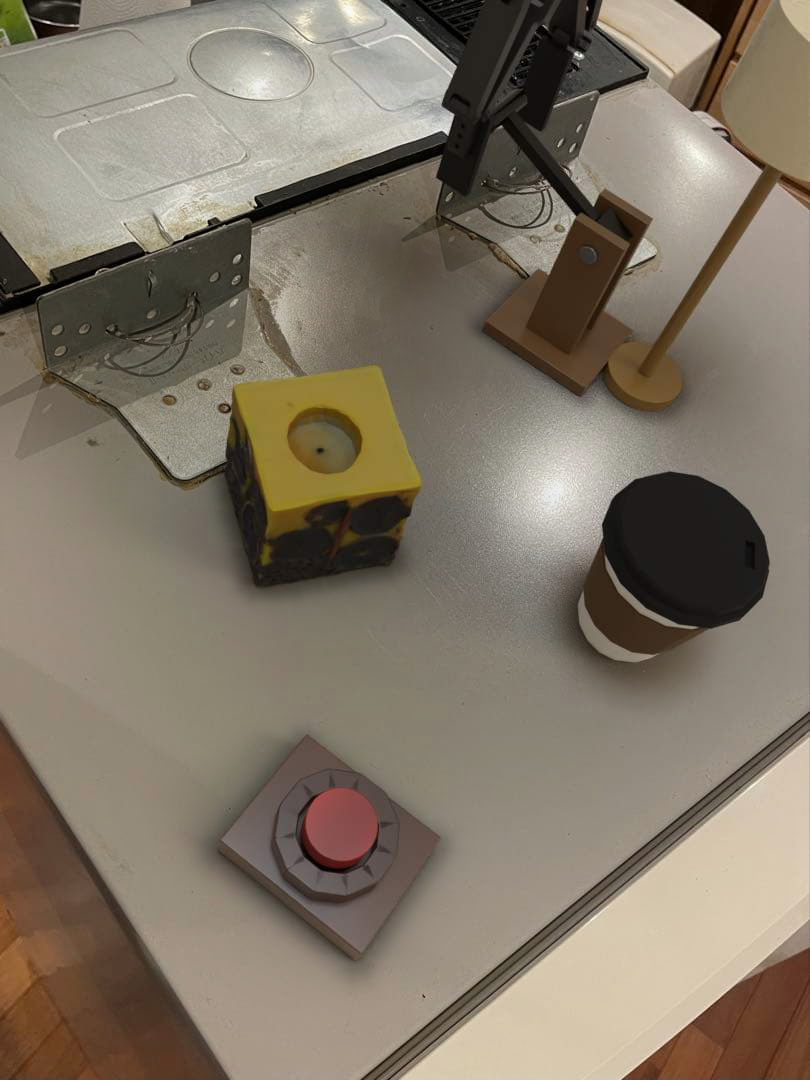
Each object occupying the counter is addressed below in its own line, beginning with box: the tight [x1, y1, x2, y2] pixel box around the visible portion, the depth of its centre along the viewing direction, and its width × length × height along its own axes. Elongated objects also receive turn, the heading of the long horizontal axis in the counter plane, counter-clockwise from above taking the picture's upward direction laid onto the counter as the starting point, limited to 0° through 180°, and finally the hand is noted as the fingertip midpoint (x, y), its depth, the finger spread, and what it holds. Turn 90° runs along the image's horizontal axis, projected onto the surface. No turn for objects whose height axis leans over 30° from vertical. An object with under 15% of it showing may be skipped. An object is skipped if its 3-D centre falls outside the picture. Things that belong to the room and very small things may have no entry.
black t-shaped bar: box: [490, 88, 633, 242], centre depth 74 cm, size 14×5×2 cm, turn 55°
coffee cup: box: [577, 470, 771, 663], centre depth 66 cm, size 11×11×12 cm
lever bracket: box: [481, 188, 654, 398], centre depth 79 cm, size 10×9×13 cm
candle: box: [224, 364, 423, 587], centre depth 66 cm, size 10×10×10 cm
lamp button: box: [301, 788, 378, 869], centre depth 54 cm, size 4×4×2 cm
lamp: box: [602, 0, 810, 412], centre depth 71 cm, size 11×11×32 cm
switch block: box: [217, 734, 442, 961], centre depth 57 cm, size 10×8×4 cm
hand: (492, 152), depth 76 cm, fingers open, 11 cm apart
